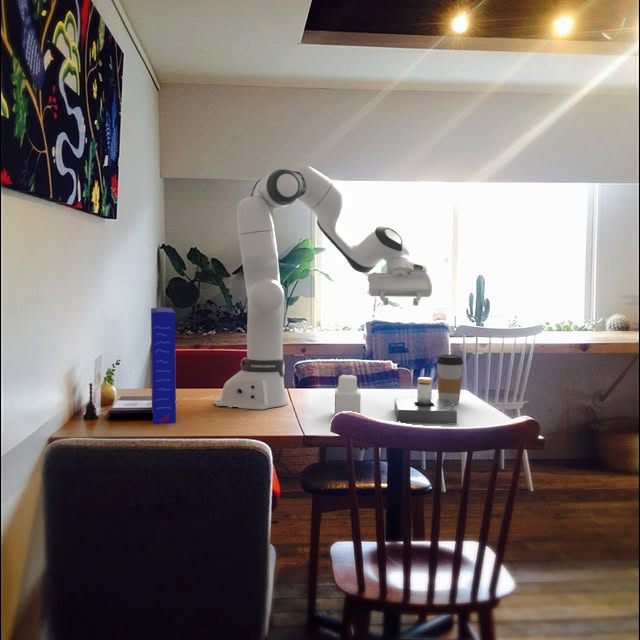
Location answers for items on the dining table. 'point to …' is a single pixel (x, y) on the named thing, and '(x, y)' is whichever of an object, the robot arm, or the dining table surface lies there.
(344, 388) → the medicine bottle
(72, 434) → the dining table surface
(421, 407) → the collar block
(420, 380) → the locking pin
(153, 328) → the cereal box
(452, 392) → the coffee cup
